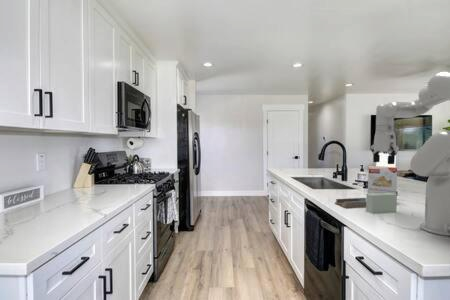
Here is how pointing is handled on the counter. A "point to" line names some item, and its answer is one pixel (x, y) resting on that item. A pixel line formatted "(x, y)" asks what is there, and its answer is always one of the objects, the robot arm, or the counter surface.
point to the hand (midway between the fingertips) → (383, 163)
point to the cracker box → (382, 179)
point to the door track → (352, 202)
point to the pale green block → (381, 202)
